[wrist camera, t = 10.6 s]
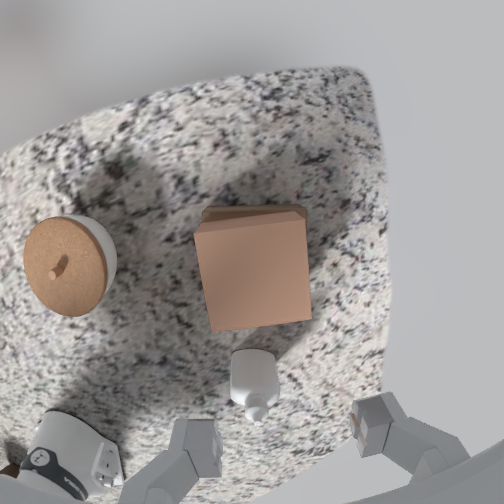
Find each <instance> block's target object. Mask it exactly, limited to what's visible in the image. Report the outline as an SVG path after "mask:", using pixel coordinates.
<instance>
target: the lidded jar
mask: <svg viewBox="0 0 504 504" xmlns="http://www.w3.org/2000/svg"><path fill="white" fill-rule="evenodd" d="M24 268H25V273H26V277H27V280H28V282H29V284H30V286H31V288H32V290H33V292H34V293H35V295H36V296H37V297H38V299H39V300H40V301H41V302H42V303H43V304H44V305H45V306H46V307H48V308H49V309H51V310H52V311H54V312H56V313H58V314H60V315H64V316H69V317H78V316H82V315H85V314H87V313H89V312H90V311H92V310H93V309H94V308H95V307H96V306H97V305H98V304H99V302H100V301H101V299H102V298H103V297H104V295H105V294H106V293H107V291H108V290H109V288H110V286H111V285H112V283H113V280H114V277H115V274H116V270H117V252H116V248H115V245H114V242H113V240H112V238H111V236H110V234H109V233H108V232H107V230H106V229H105V228H104V227H103V226H102V225H101V224H99V223H98V222H97V221H95V220H93V219H92V218H89V217H87V216H82V215H76V214H73V215H63V216H59V217H52V218H48V219H45V220H43V221H41V222H40V223H39V224H37V225H36V226H35V227H34V228H33V229H32V231H31V232H30V234H29V236H28V238H27V241H26V244H25V248H24Z"/></svg>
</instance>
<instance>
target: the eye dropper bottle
mask: <svg viewBox="0 0 504 504" xmlns="http://www.w3.org/2000/svg"><path fill="white" fill-rule="evenodd" d="M279 395H280V384H279V378H278V373H277V367H276V361H275V357H274V355H273V354H272V353H270V352H267V351H264V350H260V349H243V350H239V351H235V352H234V353H233V354H232V357H231V379H230V397H231V399H232V400H233V401H234V402H236V403H238V404H241V405H243V406H245V416H246V418H247V419H248V420H250V421H253V422H254V425H256V426H259V425H261V421H262V420H264V419H266V418H267V416H268V405H271V404H274V403H275V402H277V401H278V399H279Z"/></svg>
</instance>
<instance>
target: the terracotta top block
mask: <svg viewBox="0 0 504 504" xmlns="http://www.w3.org/2000/svg"><path fill="white" fill-rule="evenodd" d="M194 239H195V245H196V251H197V257H198V263H199V268H200V274H201V279H202V285H203V290H204V295H205V301H206V306H207V311H208V316H209V321H210V326H211V331H212V332H217V331H227V330H236V329H244V328H253V327H261V326H268V325H276V324H283V323H290V322H297V321H303V320H310V319H312V315H311V296H310V279H309V264H308V251H307V238H306V226H305V219H304V218H302V217H301V216H300V215H299V214H297V213H296V212H295V211H290V212H282V213H273V214H265V215H257V216H249V217H241V218H234V219H226V220H219V221H211V222H204V223H201V224H200V225H199V227H198V228H197V229H196V231H195V232H194Z"/></svg>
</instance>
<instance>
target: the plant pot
mask: <svg viewBox="0 0 504 504" xmlns="http://www.w3.org/2000/svg"><path fill="white" fill-rule="evenodd" d="M19 468H20V467H19V466H17V465H15V464H10V465H8V466H7V467H5V468H4V469H2V470H1V471H0V474H5V475H8V476H11V477H13V478H15V479H17V477H18V475H19V473H20V472H19Z"/></svg>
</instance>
